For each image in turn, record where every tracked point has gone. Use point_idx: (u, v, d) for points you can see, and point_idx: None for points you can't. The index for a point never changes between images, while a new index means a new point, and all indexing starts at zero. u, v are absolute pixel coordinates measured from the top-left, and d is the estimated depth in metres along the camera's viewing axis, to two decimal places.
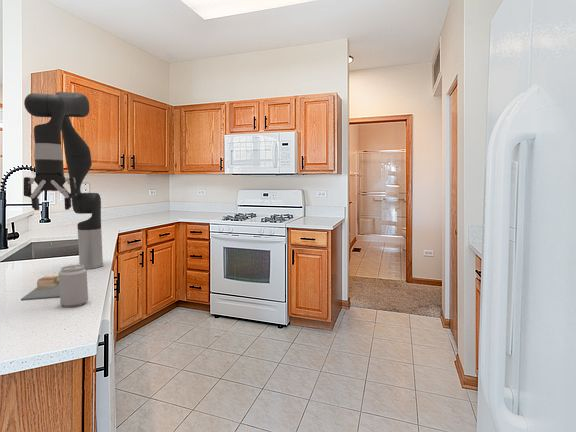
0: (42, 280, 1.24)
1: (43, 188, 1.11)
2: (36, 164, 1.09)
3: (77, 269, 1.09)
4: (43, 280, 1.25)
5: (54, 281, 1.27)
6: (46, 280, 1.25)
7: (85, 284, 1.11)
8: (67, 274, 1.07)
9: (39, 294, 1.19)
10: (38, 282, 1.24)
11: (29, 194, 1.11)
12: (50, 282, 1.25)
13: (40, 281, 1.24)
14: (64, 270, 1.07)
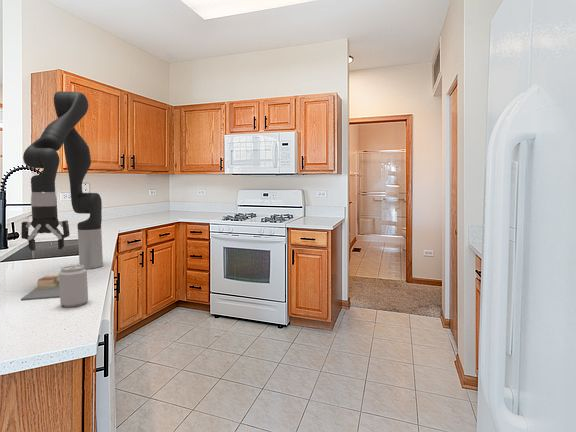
0: (42, 280, 1.24)
1: (39, 231, 1.25)
2: (33, 210, 1.23)
3: (77, 269, 1.09)
4: (43, 280, 1.25)
5: (54, 281, 1.27)
6: (46, 280, 1.25)
7: (85, 284, 1.11)
8: (68, 274, 1.07)
9: (39, 294, 1.19)
10: (38, 282, 1.24)
11: (26, 236, 1.24)
12: (50, 282, 1.25)
13: (40, 281, 1.24)
14: (64, 270, 1.07)
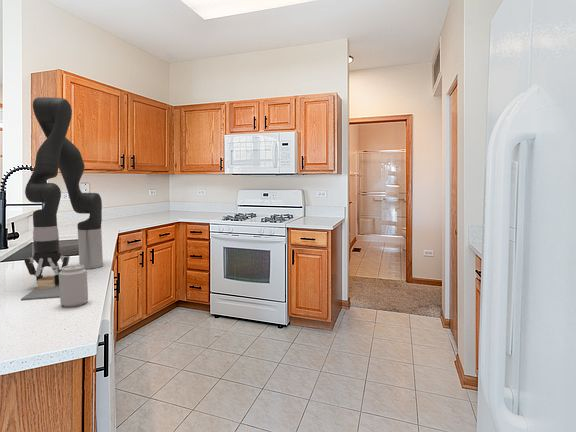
0: (42, 280, 1.24)
1: (43, 265, 1.26)
2: (35, 245, 1.24)
3: (77, 269, 1.09)
4: (43, 280, 1.25)
5: (54, 281, 1.27)
6: (46, 280, 1.25)
7: (85, 284, 1.11)
8: (67, 274, 1.07)
9: (39, 294, 1.19)
10: (38, 282, 1.24)
11: (34, 272, 1.26)
12: (50, 282, 1.25)
13: (40, 281, 1.24)
14: (64, 270, 1.07)
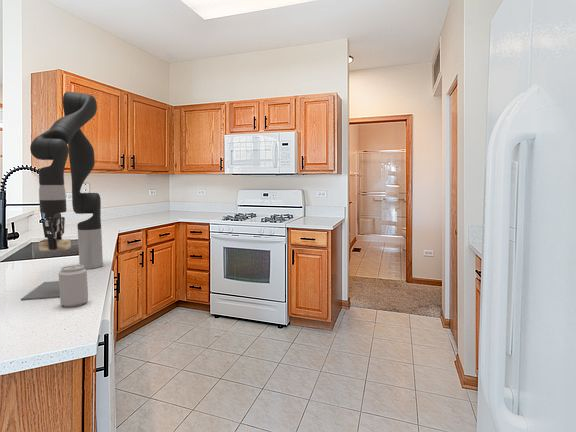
0: None
1: None
2: None
3: (77, 269, 1.09)
4: None
5: (47, 245, 1.18)
6: None
7: (85, 284, 1.11)
8: (68, 274, 1.07)
9: (39, 294, 1.19)
10: None
11: (56, 231, 1.24)
12: None
13: None
14: (64, 270, 1.07)
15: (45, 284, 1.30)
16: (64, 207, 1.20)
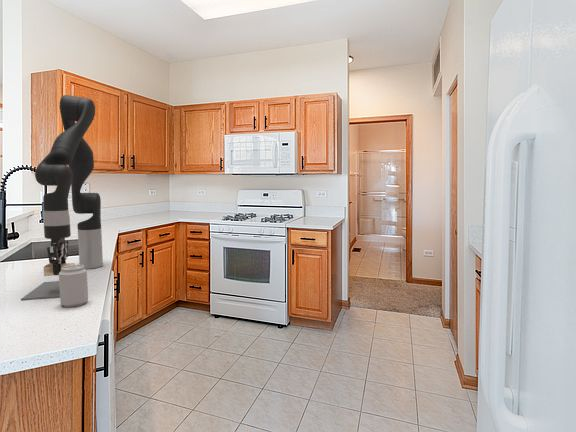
0: None
1: None
2: None
3: (77, 269, 1.09)
4: (47, 265, 1.21)
5: (52, 270, 1.19)
6: None
7: (85, 284, 1.11)
8: (67, 274, 1.07)
9: (39, 294, 1.19)
10: None
11: None
12: None
13: None
14: (64, 270, 1.07)
15: (45, 284, 1.30)
16: (68, 232, 1.21)
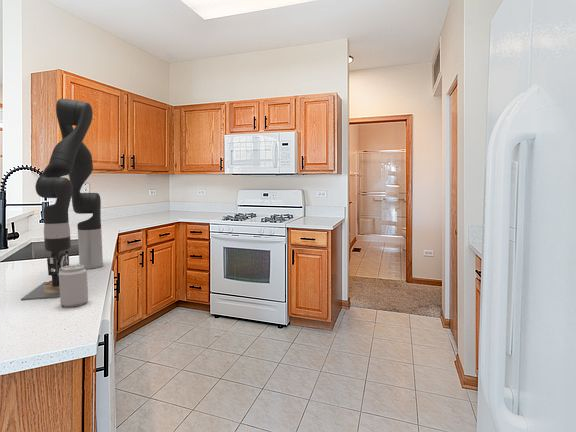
0: None
1: None
2: None
3: (77, 269, 1.09)
4: None
5: (52, 287, 1.20)
6: None
7: (85, 284, 1.11)
8: (67, 274, 1.07)
9: (39, 294, 1.19)
10: None
11: None
12: None
13: None
14: (64, 270, 1.07)
15: None
16: (68, 244, 1.21)
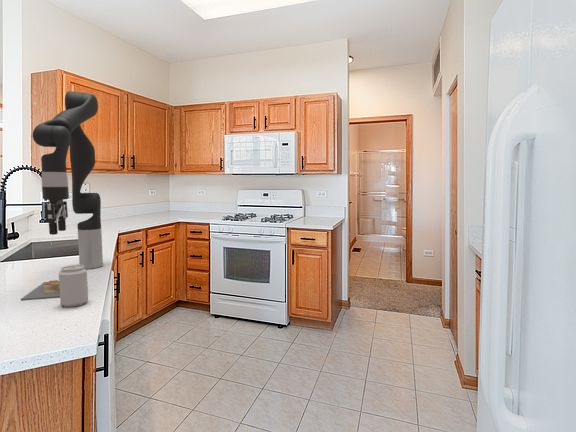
0: None
1: None
2: None
3: (77, 269, 1.09)
4: None
5: (52, 287, 1.20)
6: None
7: (85, 284, 1.11)
8: (68, 274, 1.07)
9: (39, 294, 1.19)
10: None
11: (60, 216, 1.27)
12: None
13: None
14: (64, 270, 1.07)
15: None
16: (66, 194, 1.21)
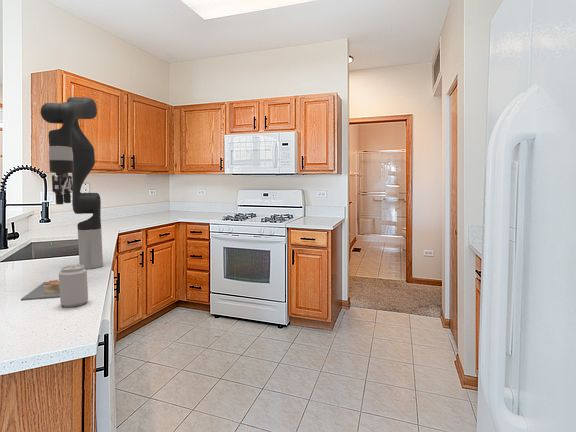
0: None
1: None
2: None
3: (77, 269, 1.09)
4: None
5: (52, 287, 1.20)
6: None
7: (85, 284, 1.11)
8: (67, 274, 1.07)
9: (39, 294, 1.19)
10: None
11: None
12: None
13: None
14: (64, 270, 1.07)
15: None
16: (72, 167, 1.30)
